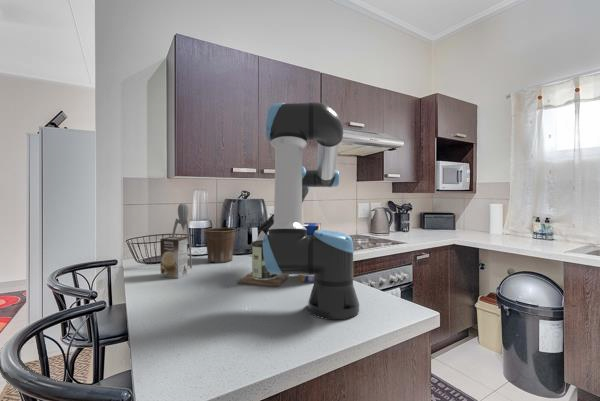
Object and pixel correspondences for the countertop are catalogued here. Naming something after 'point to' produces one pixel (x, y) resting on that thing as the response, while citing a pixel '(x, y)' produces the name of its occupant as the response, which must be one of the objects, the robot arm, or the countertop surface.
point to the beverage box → (310, 230)
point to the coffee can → (260, 263)
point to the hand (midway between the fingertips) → (269, 246)
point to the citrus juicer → (183, 223)
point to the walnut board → (262, 281)
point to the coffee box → (173, 257)
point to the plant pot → (220, 244)
